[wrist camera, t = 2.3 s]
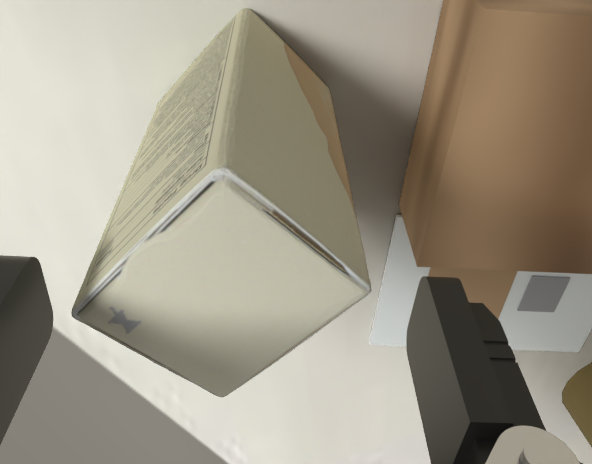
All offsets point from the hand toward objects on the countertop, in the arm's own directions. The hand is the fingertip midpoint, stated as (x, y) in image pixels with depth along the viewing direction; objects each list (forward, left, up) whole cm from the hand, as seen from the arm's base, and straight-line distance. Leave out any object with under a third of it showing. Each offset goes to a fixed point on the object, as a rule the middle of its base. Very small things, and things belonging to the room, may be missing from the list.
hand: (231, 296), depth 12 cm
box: (0, 0, -11) cm, 11 cm away
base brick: (+11, 0, -11) cm, 15 cm away
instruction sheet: (+12, -9, -11) cm, 18 cm away
